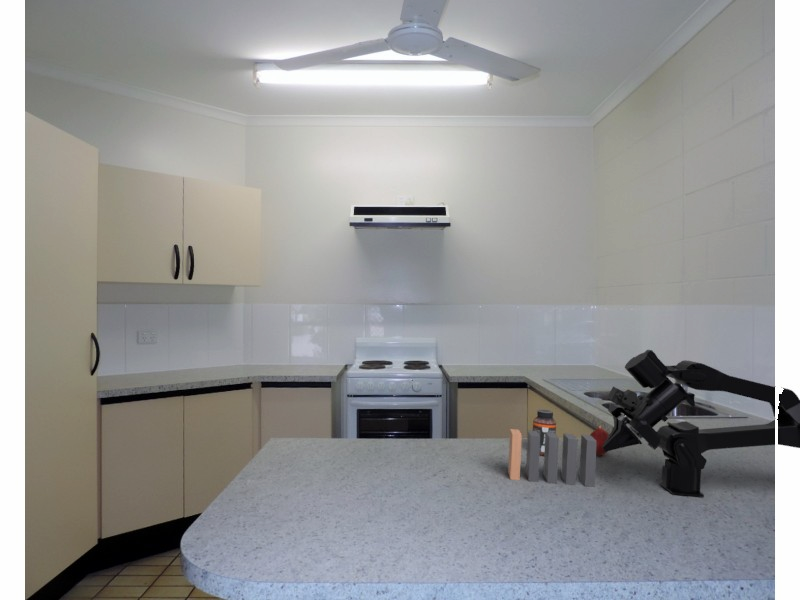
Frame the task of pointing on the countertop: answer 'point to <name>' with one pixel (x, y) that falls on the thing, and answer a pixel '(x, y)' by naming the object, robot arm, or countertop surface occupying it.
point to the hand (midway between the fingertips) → (603, 449)
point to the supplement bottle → (544, 426)
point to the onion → (600, 439)
